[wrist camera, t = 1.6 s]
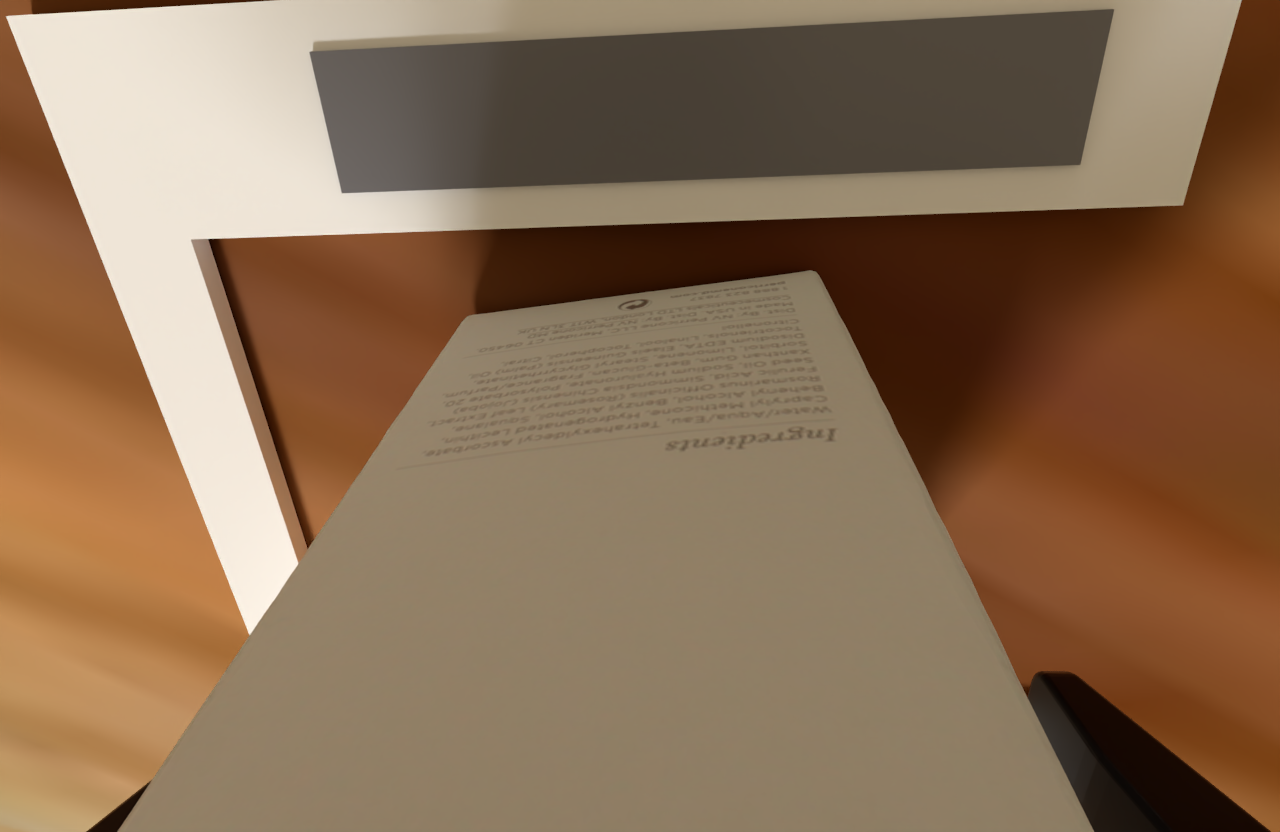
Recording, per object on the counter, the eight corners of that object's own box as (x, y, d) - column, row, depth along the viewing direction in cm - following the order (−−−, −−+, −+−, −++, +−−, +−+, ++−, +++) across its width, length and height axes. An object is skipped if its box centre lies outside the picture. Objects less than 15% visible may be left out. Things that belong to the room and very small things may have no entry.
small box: (463, 305, 12) (-325, 1337, 3) (824, 258, 11) (1455, 1430, 2) (564, 670, 16) (383, 1632, 6) (840, 651, 15) (1086, 1699, 6)
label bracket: (1235, -55, 9) (1263, -57, 9) (1000, 797, 17) (1009, 819, 16) (28, 15, 10) (-1, 16, 10) (321, 783, 18) (312, 803, 17)
